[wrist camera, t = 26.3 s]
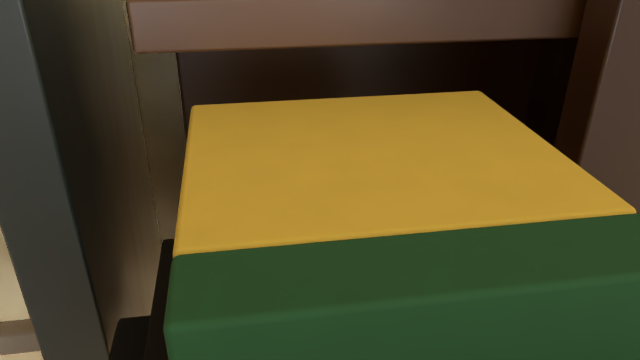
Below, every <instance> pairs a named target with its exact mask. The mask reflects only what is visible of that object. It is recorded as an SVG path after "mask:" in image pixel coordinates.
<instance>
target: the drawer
mask: <svg viewBox="0 0 640 360" xmlns="http://www.w3.org/2000/svg"><path fill="white" fill-rule="evenodd" d="M586 3H587V0H127V2H126V6H127V12H128V18H129V25H130V31H131V37H132V44H133V50H134V52H135V53H137V54H149V53H176V60H177V69H178V77H179V85H180V93H181V101H182V110H183V118H184V126H185V134H186V143H187V137H188V129H189V121H190V113H191V108H192V107H193V106H195V105H211V104H231V103H250V102H269V101H289V100H308V99H327V98H347V97H366V96H386V95H405V94H424V93H444V92H463V91H480V92H482V93H483V94H485V95H486V96H487V97H489V98H490V99H491V100H492V101H494V102H495V103H496V104H498V105H499V106H500V107H502V108H503V109H504V110H506V111H507V112H508V113H510V114H511V115H512V116H514V117H515V118H516V119H518V120H519V121H520V122H522V123H523V124H524V125H525V126H527V127H528V128H529V129H531V130H532V131H533V132H535V133H536V134H537V135H539V136H540V137H541V138H543V139H544V140H545V141H547V142H548V143H549V144H551V145H552V146H553V147H554V143H555V139H556V134H557V130H558V126H559V121H560V117H561V112H562V108H563V104H564V99H565V95H566V90H567V86H568V82H569V77H570V73H571V68H572V64H573V60H574V55H575V51H576V46H577V42H578V38H579V33H580V29H581V25H582V20H583V16H584V11H585V7H586ZM0 227H1V230H2V233H3V236H4V239H5V242H6V245H7V248H8V251H9V254H10V257H11V261H12V264H13V267H14V270H15V273H16V276H17V279H18V282H19V285H20V288H21V291H22V295H23V298H24V301H25V304H26V307H27V310H28V313H29V316H30V319H24V320H14V321H4V322H0V355H7V354H16V353H25V352H34V351H41V353H42V356H43V359H44V360H108V359H109V355H110V351H111V346H112V342H113V338H114V334H115V330H116V326H117V323H118V321H119V320H120V319H121V318H129V317H139V316H148V315H151V309H152V303H153V297H154V290H155V284H156V278H157V272H158V266H159V260H160V254H161V247H162V246H161V240H160V233H159V227H158V221H157V215H156V209H155V202H154V196H153V190H152V184H151V178H150V171H149V165H148V159H147V153H146V146H145V140H144V134H143V128H142V122H141V115H140V109H139V103H138V97H137V91H136V84H135V78H134V72H133V66H132V60H131V53H130V47H129V41H128V35H127V29H126V22H125V16H124V10H123V4H122V0H0Z"/></svg>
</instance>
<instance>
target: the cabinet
mask: <svg viewBox="0 0 640 360" xmlns="http://www.w3.org/2000/svg"><path fill="white" fill-rule="evenodd" d="M554 148H556V149H557V150H558V151H560V152H561V153H562V154H564V155H565V156H566V157H568V158H569V159H570V160H572V161H573V162H574V163H576V164H577V165H578V166H580V167H581V168H582V169H583V170H585V171H586V172H587V173H589V174H590V175H591V176H593V177H594V178H595V179H597V180H598V181H599V182H601V183H602V184H603V185H605V186H606V187H607V188H609V189H610V190H611V191H612V192H614V193H615V194H616V195H618V196H619V197H620V198H622V199H623V200H624V201H626V202H627V203H628V204H630V205H631V206H632V207H634V208H635V210H636V213H637V214H640V0H587V3H586V7H585V11H584V16H583V20H582V25H581V29H580V33H579V38H578V42H577V46H576V51H575V55H574V60H573V64H572V68H571V73H570V77H569V82H568V86H567V90H566V95H565V99H564V104H563V108H562V112H561V117H560V121H559V126H558V130H557V134H556V139H555V143H554Z"/></svg>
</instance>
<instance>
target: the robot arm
mask: <svg viewBox="0 0 640 360" xmlns="http://www.w3.org/2000/svg"><path fill="white" fill-rule="evenodd" d="M173 247H174V239H166V240H163V242H162V247H161V254H160V260H159V266H158V272H157V278H156V284H155V290H154V297H153V303H152V309H151V315H148V316H139V317H129V318H121V319H120V320H119V321H118V323H117V326H116V330H115V334H114V338H113V342H112V346H111V351H110V355H109V359H108V360H168V354H167V349H166V343H165V337H164V331H163V326H164V318H165V310H166V302H167V295H168V287H169V279H170V271H171V263H172V261H173Z"/></svg>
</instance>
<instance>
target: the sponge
mask: <svg viewBox="0 0 640 360" xmlns="http://www.w3.org/2000/svg"><path fill="white" fill-rule="evenodd" d="M163 331H164V337H165V343H166V349H167V354H168V360H640V214H637V213H636V210H635V208H634V207H632V206H631V205H630V204H628V203H627V202H626V201H624V200H623V199H622V198H620V197H619V196H618V195H616V194H615V193H614V192H612V191H611V190H610V189H609V188H607V187H606V186H605V185H603V184H602V183H601V182H599V181H598V180H597V179H595V178H594V177H593V176H591V175H590V174H589V173H587V172H586V171H585V170H583V169H582V168H581V167H580V166H578V165H577V164H576V163H574V162H573V161H572V160H570V159H569V158H568V157H566V156H565V155H564V154H562V153H561V152H560V151H558V150H557V149H556V148H554V147H553V146H552V145H551V144H549V143H548V142H547V141H545V140H544V139H543V138H541V137H540V136H539V135H537V134H536V133H535V132H533V131H532V130H531V129H529V128H528V127H527V126H525V125H524V124H523V123H522V122H520V121H519V120H518V119H516V118H515V117H514V116H512V115H511V114H510V113H508V112H507V111H506V110H504V109H503V108H502V107H500V106H499V105H498V104H496V103H495V102H494V101H492V100H491V99H490V98H489V97H487V96H486V95H485V94H483V93H482V92H480V91H463V92H444V93H424V94H405V95H386V96H366V97H347V98H327V99H308V100H289V101H269V102H250V103H231V104H211V105H195V106H193V107H192V108H191V113H190V121H189V129H188V137H187V144H186V152H185V160H184V168H183V176H182V184H181V192H180V200H179V208H178V215H177V223H176V231H175V239H174V247H173V261H172V263H171V271H170V279H169V287H168V295H167V302H166V310H165V318H164V326H163Z"/></svg>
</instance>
